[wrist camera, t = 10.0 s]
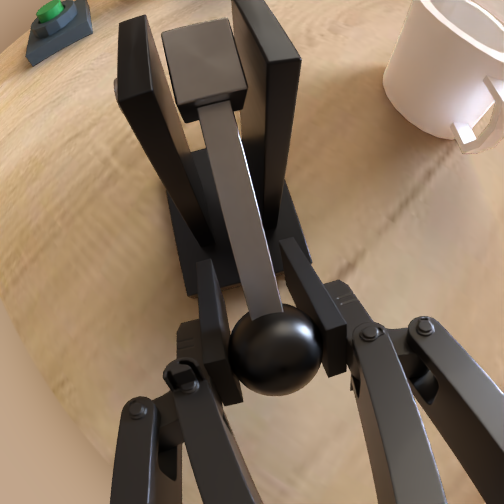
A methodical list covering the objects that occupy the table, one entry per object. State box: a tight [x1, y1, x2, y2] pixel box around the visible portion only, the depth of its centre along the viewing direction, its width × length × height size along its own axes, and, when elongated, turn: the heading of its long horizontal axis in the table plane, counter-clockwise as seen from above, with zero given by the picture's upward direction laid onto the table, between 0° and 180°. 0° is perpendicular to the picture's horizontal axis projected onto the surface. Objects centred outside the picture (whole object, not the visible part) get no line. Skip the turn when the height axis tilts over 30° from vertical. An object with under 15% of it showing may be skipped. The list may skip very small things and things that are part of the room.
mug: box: [383, 0, 504, 154], centre depth 20 cm, size 14×10×11 cm
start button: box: [36, 0, 64, 23], centre depth 26 cm, size 4×4×2 cm
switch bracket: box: [114, 0, 312, 298], centre depth 15 cm, size 10×8×15 cm
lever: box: [161, 18, 323, 396], centre depth 10 cm, size 13×3×3 cm, turn 15°
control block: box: [26, 0, 93, 66], centre depth 28 cm, size 10×9×4 cm
